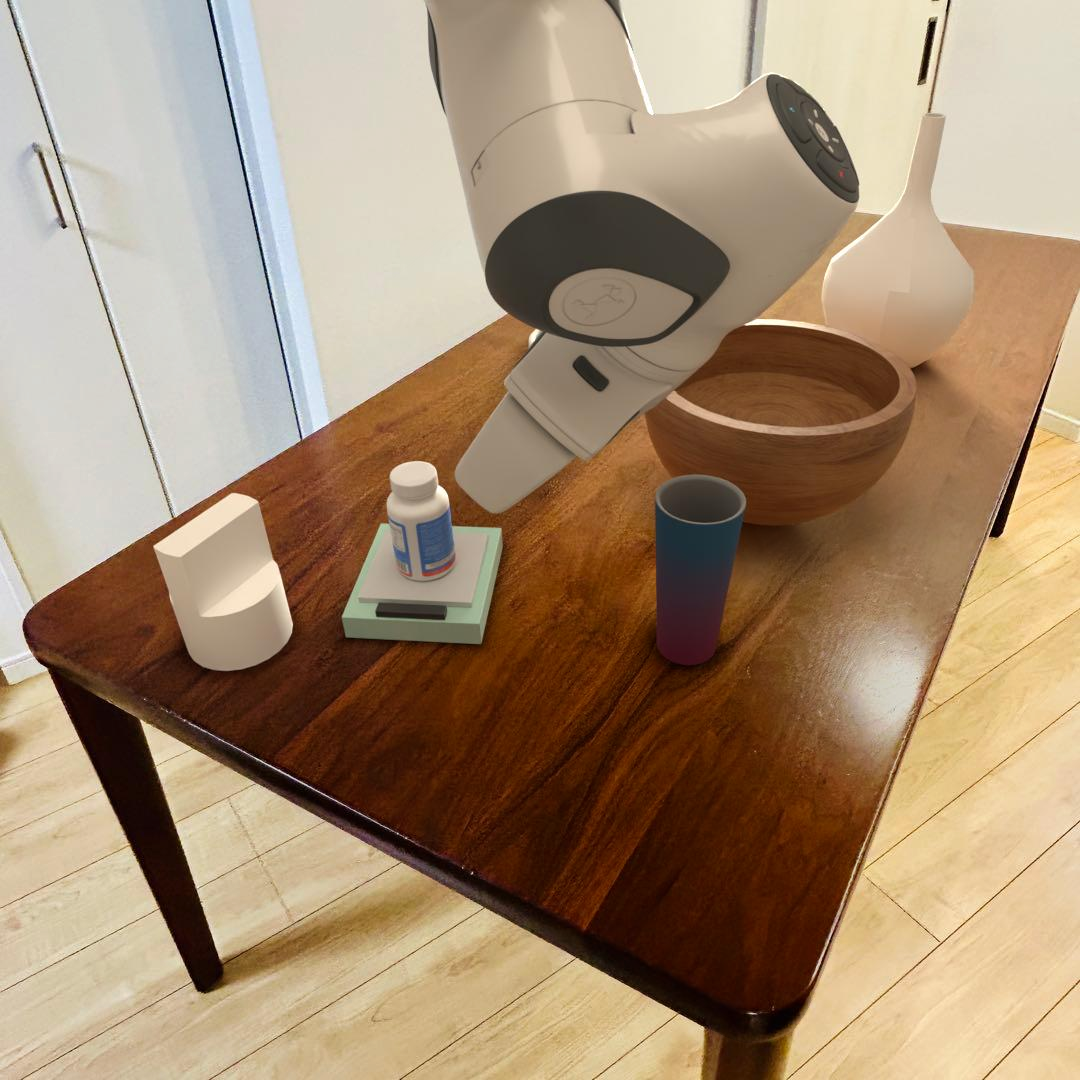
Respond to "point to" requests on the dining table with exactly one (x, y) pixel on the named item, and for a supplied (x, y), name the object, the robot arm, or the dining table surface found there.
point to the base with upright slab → (226, 586)
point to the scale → (426, 592)
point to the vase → (903, 269)
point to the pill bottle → (420, 522)
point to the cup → (694, 562)
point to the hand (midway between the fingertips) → (512, 448)
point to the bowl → (788, 418)
